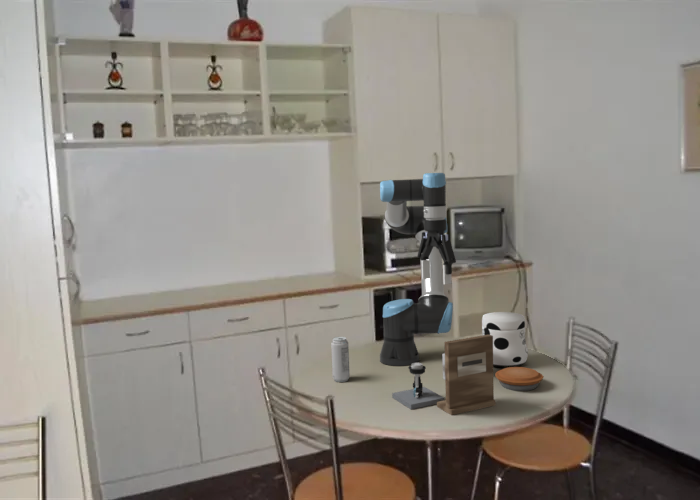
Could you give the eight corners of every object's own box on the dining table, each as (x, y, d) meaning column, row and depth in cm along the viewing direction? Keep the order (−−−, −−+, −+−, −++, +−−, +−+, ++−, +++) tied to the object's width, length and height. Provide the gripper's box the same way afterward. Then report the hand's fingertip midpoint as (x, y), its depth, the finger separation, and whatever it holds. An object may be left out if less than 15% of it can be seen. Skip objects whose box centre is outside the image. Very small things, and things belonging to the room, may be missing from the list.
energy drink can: (339, 376, 226) (337, 335, 224) (353, 378, 222) (351, 337, 221) (329, 381, 221) (327, 339, 219) (343, 383, 218) (341, 341, 216)
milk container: (537, 364, 231) (537, 316, 229) (505, 373, 222) (505, 323, 220) (502, 354, 245) (501, 309, 243) (470, 363, 236) (469, 316, 234)
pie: (515, 396, 199) (514, 381, 198) (486, 382, 213) (485, 368, 213) (553, 388, 205) (553, 373, 204) (522, 375, 219) (522, 361, 219)
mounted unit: (434, 405, 194) (432, 337, 192) (477, 395, 200) (475, 330, 198) (451, 415, 185) (450, 344, 183) (495, 405, 192) (494, 336, 189)
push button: (424, 399, 195) (424, 368, 194) (407, 398, 196) (406, 367, 195) (427, 392, 201) (426, 362, 200) (410, 391, 202) (409, 361, 201)
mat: (392, 397, 202) (392, 393, 202) (424, 391, 207) (424, 386, 207) (411, 409, 191) (410, 404, 191) (444, 402, 196) (444, 397, 196)
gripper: (406, 218, 221) (408, 277, 223) (446, 221, 198) (447, 287, 201) (425, 216, 224) (426, 275, 226) (465, 219, 201) (467, 285, 204)
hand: (436, 281), depth 213 cm, fingers open, 13 cm apart
